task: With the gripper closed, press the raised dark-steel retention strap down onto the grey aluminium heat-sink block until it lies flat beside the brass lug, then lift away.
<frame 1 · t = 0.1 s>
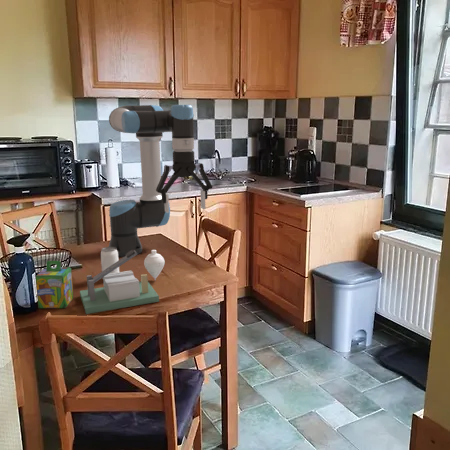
hand: (185, 210, 168), 28 cm above the table, fingers open, 13 cm apart
strap: (112, 266, 158), point 12 cm above the table, hinge at 28.0°
can: (111, 279, 181), on the table
heatsink board: (119, 298, 162), on the table
chalk box: (56, 304, 159), on the table
spinning top: (155, 280, 178), on the table
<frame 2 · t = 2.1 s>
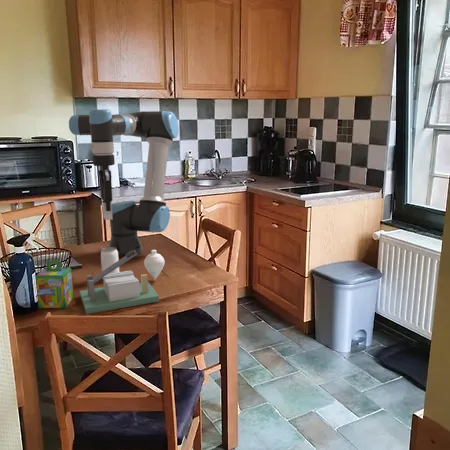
hand: (108, 218, 172), 24 cm above the table, fingers open, 2 cm apart
nothing on the table moved.
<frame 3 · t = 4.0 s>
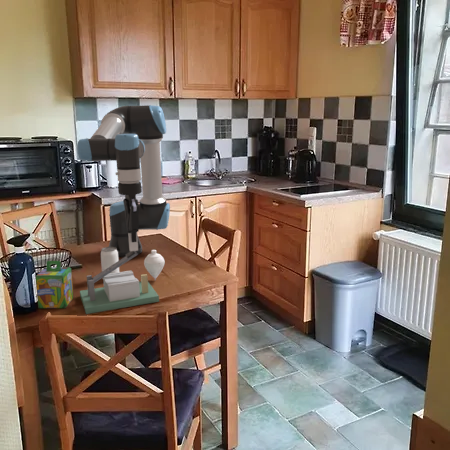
hand: (133, 250, 160), 17 cm above the table, fingers closed
strap: (112, 267, 158), point 12 cm above the table, hinge at 27.5°, touching gripper
everything else where it was.
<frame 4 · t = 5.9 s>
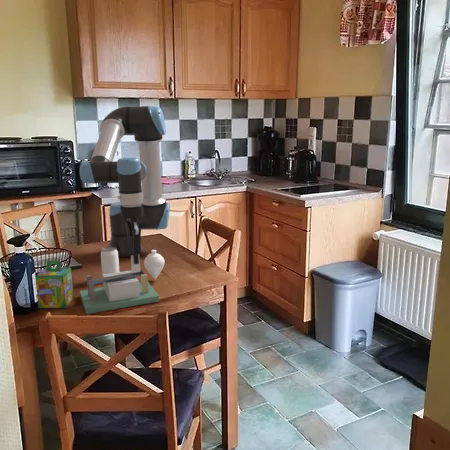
hand: (136, 272, 162), 9 cm above the table, fingers closed
strap: (116, 277, 160), point 8 cm above the table, hinge at 1.7°, touching gripper
everything else where it was.
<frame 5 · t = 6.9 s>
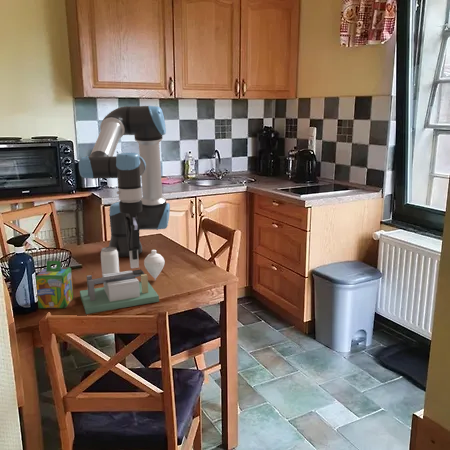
hand: (134, 267, 162), 10 cm above the table, fingers closed
strap: (116, 277, 160), point 8 cm above the table, hinge at 1.7°
everything else where it was.
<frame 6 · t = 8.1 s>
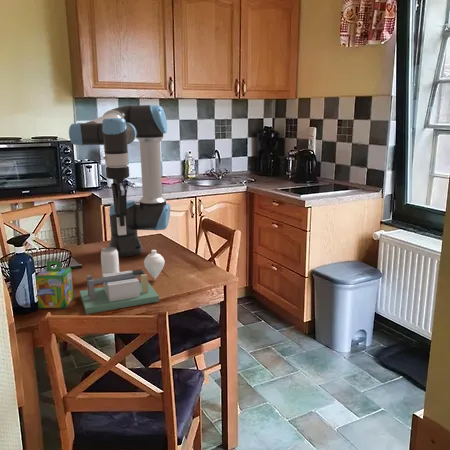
hand: (122, 234, 161), 22 cm above the table, fingers closed
nothing on the table moved.
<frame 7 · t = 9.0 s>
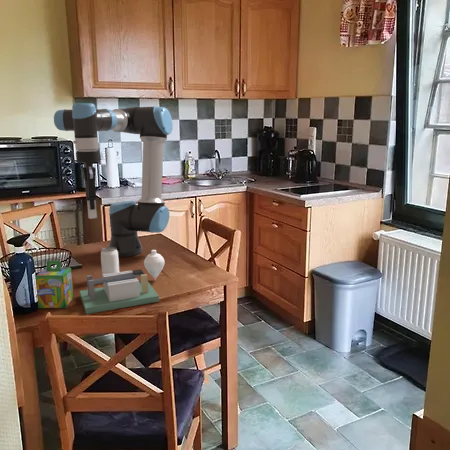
hand: (92, 217, 165), 26 cm above the table, fingers closed
nothing on the table moved.
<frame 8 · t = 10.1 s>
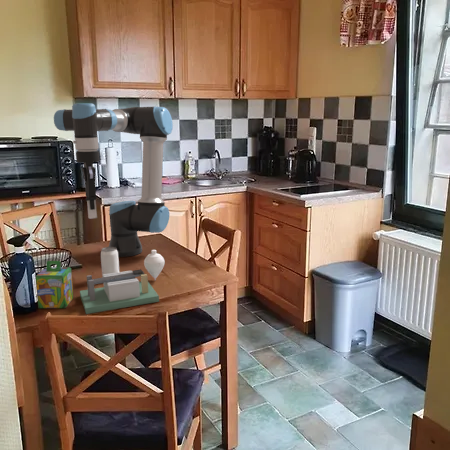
hand: (92, 217, 165), 26 cm above the table, fingers closed
nothing on the table moved.
at the end: strap at +2° (first picture: +28°); strap touching nothing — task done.
